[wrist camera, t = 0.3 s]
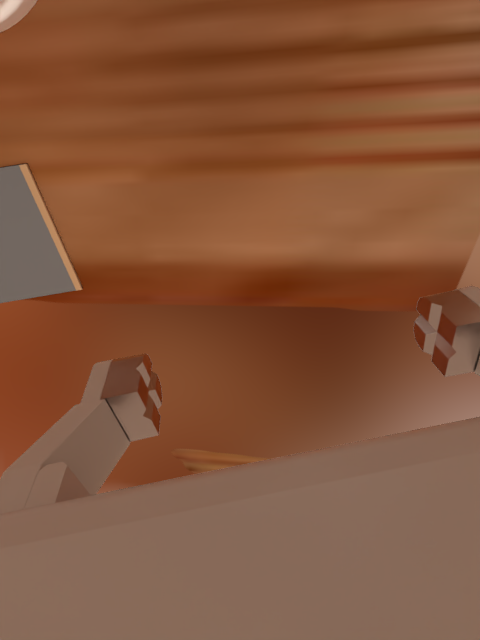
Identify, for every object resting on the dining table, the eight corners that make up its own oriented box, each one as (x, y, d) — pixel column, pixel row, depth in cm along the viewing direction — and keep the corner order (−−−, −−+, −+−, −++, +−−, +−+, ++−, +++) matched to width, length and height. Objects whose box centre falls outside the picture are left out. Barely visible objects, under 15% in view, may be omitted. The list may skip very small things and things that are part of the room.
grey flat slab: (-89, 181, 48) (-92, 182, 48) (27, 163, 49) (26, 164, 48) (-11, 303, 60) (-13, 305, 59) (82, 288, 60) (82, 289, 60)
